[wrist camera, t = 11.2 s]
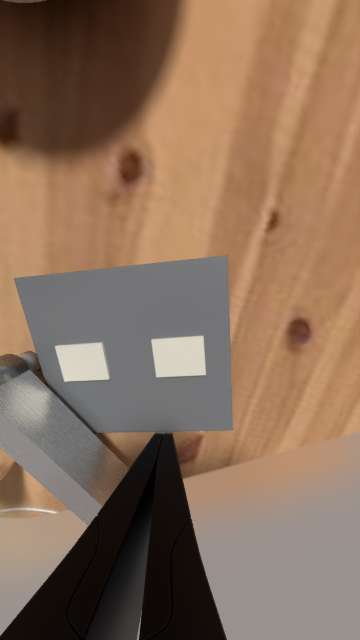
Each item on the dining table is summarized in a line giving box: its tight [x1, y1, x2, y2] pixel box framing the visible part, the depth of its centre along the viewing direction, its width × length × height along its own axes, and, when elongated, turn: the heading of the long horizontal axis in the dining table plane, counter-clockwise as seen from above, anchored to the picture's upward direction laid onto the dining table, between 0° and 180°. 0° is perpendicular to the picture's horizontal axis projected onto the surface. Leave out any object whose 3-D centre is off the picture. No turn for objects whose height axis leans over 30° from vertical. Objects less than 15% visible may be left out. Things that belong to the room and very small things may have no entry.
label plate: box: [14, 255, 233, 433], centre depth 18 cm, size 23×18×2 cm
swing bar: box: [0, 354, 129, 526], centre depth 17 cm, size 22×4×4 cm, turn 38°
